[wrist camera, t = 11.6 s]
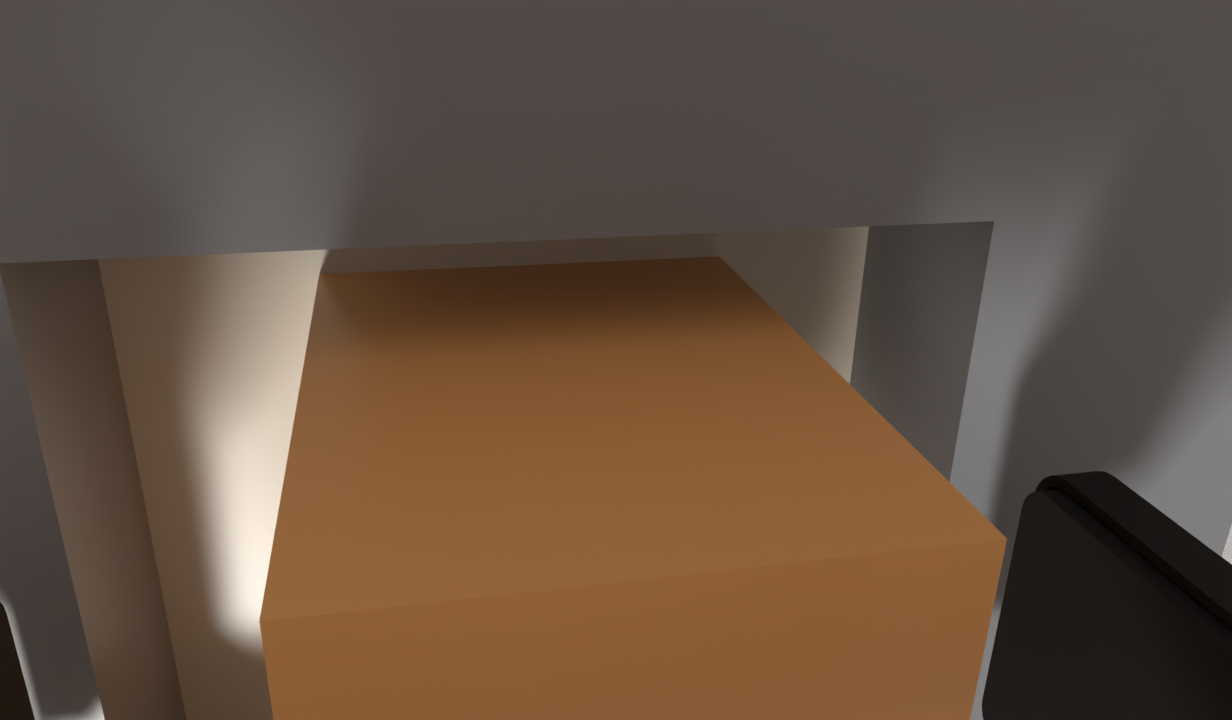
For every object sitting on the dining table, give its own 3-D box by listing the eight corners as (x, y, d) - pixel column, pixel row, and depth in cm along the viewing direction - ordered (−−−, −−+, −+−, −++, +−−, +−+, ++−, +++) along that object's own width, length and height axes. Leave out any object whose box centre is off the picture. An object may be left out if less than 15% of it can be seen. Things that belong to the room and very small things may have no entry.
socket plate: (1214, -235, 11) (1477, -284, 9) (981, 823, 18) (1090, 987, 15) (-512, -339, 8) (-962, -473, 5) (-36, 1001, 14) (-132, 1251, 12)
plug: (719, 256, 12) (1007, 539, 6) (694, 638, 14) (893, 1089, 9) (318, 274, 11) (258, 622, 5) (359, 680, 13) (344, 1215, 8)
